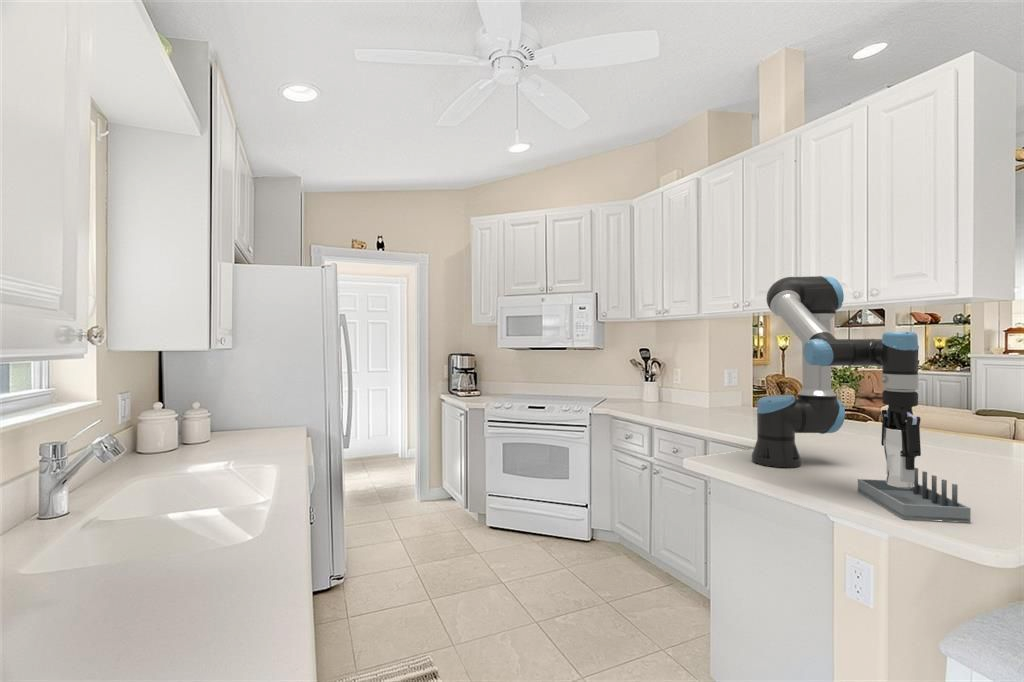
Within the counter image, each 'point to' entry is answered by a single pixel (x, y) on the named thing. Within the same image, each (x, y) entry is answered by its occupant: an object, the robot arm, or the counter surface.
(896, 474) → the beer glass
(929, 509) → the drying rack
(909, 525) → the counter surface
